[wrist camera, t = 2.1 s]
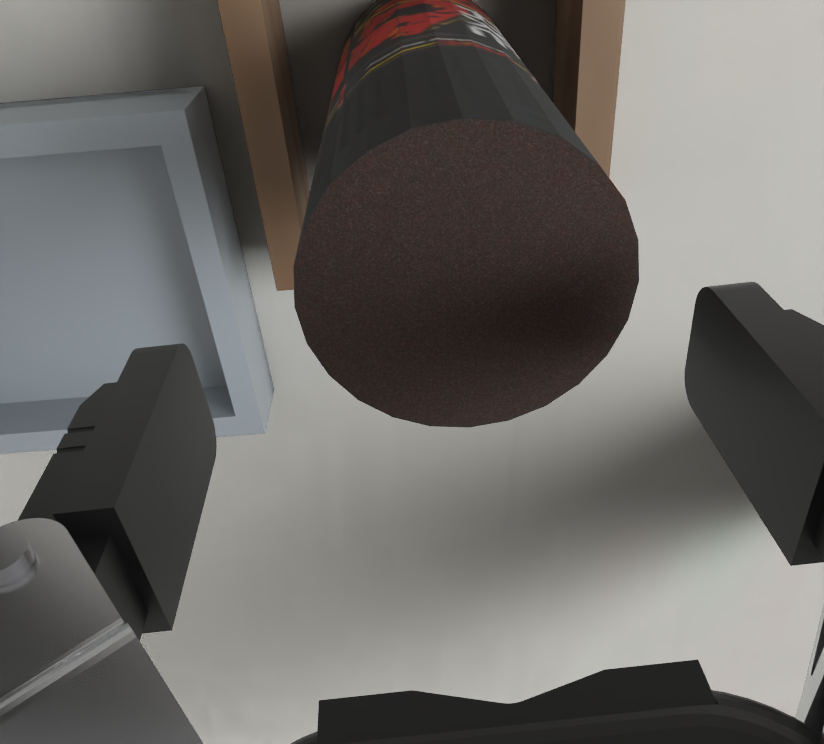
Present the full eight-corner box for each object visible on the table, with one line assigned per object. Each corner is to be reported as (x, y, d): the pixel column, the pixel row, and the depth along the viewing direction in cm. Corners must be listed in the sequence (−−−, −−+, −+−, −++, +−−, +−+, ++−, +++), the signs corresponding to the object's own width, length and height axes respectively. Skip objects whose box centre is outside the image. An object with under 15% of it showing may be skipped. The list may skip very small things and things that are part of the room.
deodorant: (530, 7, 23) (698, 156, 11) (484, 180, 27) (573, 445, 14) (351, -34, 22) (314, 80, 10) (326, 151, 26) (276, 405, 13)
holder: (603, -135, 21) (638, -136, 18) (578, 224, 28) (601, 264, 25) (222, -101, 21) (197, -97, 18) (287, 247, 28) (276, 290, 25)
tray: (204, 85, 24) (184, 110, 22) (273, 390, 32) (265, 433, 29) (-172, 117, 24) (-233, 144, 22) (-14, 412, 32) (-47, 457, 29)
